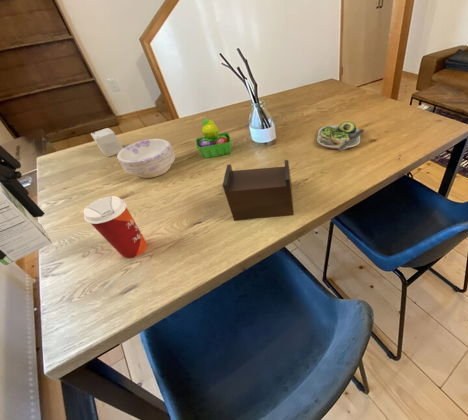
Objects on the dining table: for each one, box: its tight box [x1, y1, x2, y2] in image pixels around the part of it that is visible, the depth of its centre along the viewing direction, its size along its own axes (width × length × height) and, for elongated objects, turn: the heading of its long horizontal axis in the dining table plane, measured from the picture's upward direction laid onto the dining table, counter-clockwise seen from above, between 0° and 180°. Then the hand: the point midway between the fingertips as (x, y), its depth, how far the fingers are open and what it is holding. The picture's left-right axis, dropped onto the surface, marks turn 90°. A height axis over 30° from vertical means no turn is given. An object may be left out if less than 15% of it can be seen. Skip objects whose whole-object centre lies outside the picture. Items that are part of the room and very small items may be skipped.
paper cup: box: [83, 195, 148, 259], centre depth 62 cm, size 8×8×14 cm
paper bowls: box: [116, 138, 176, 179], centre depth 89 cm, size 15×15×8 cm
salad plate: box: [316, 121, 365, 152], centre depth 104 cm, size 19×18×5 cm
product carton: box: [90, 127, 124, 158], centre depth 98 cm, size 6×6×7 cm
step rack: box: [222, 159, 295, 222], centre depth 76 cm, size 15×16×12 cm
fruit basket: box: [195, 118, 232, 159], centre depth 96 cm, size 11×9×11 cm
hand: (15, 235), depth 41 cm, fingers closed on syrup box, 8 cm apart
